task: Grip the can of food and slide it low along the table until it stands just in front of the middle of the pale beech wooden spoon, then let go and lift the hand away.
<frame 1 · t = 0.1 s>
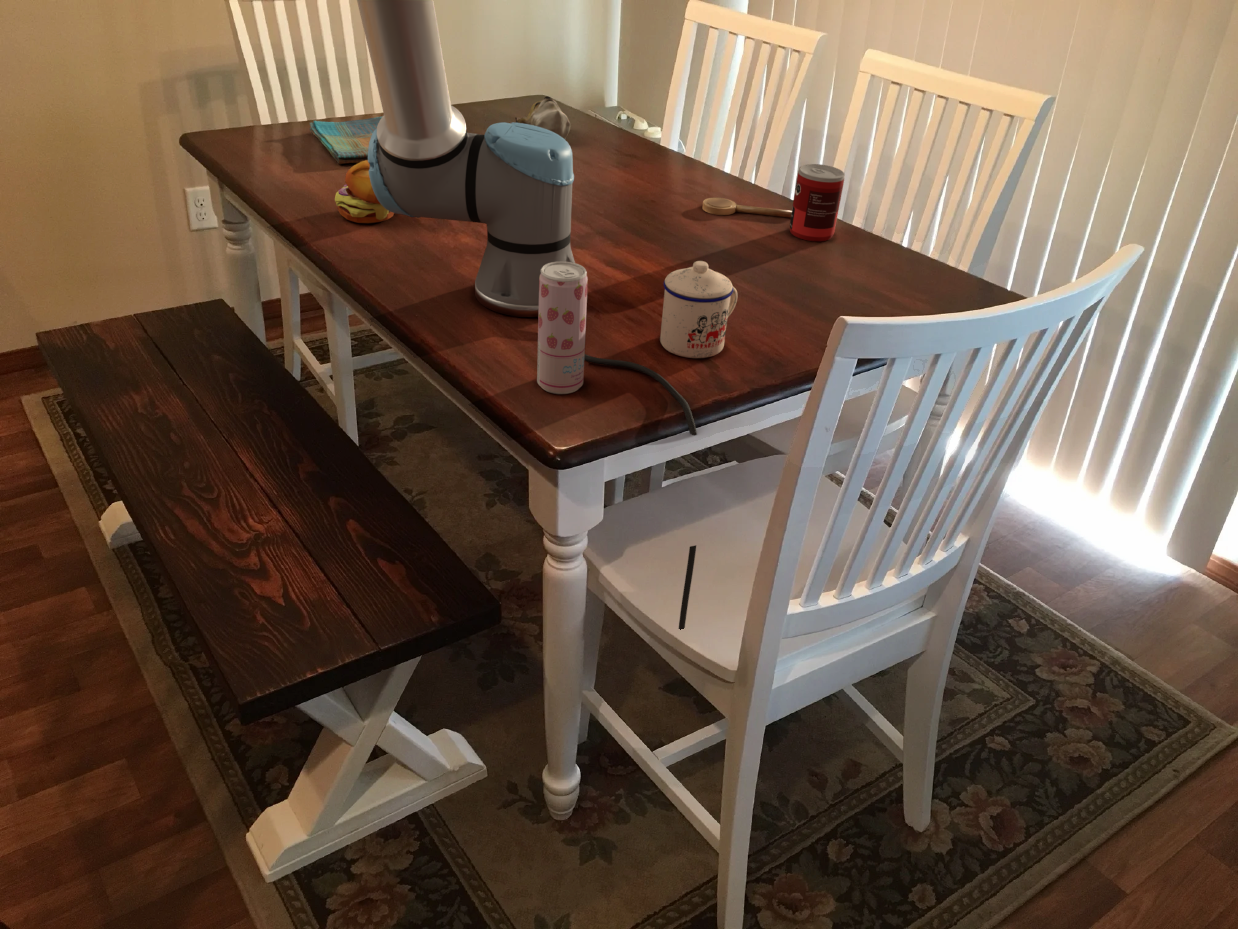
teacup with lid: (699, 343, 135), on the table
canned food: (810, 234, 172), on the table
cheeseburger: (371, 217, 167), on the table
dish towel: (365, 146, 199), on the table
spoon: (749, 212, 180), on the table
beverage can: (560, 385, 123), on the table
ceramic sculpture: (546, 137, 212), on the table
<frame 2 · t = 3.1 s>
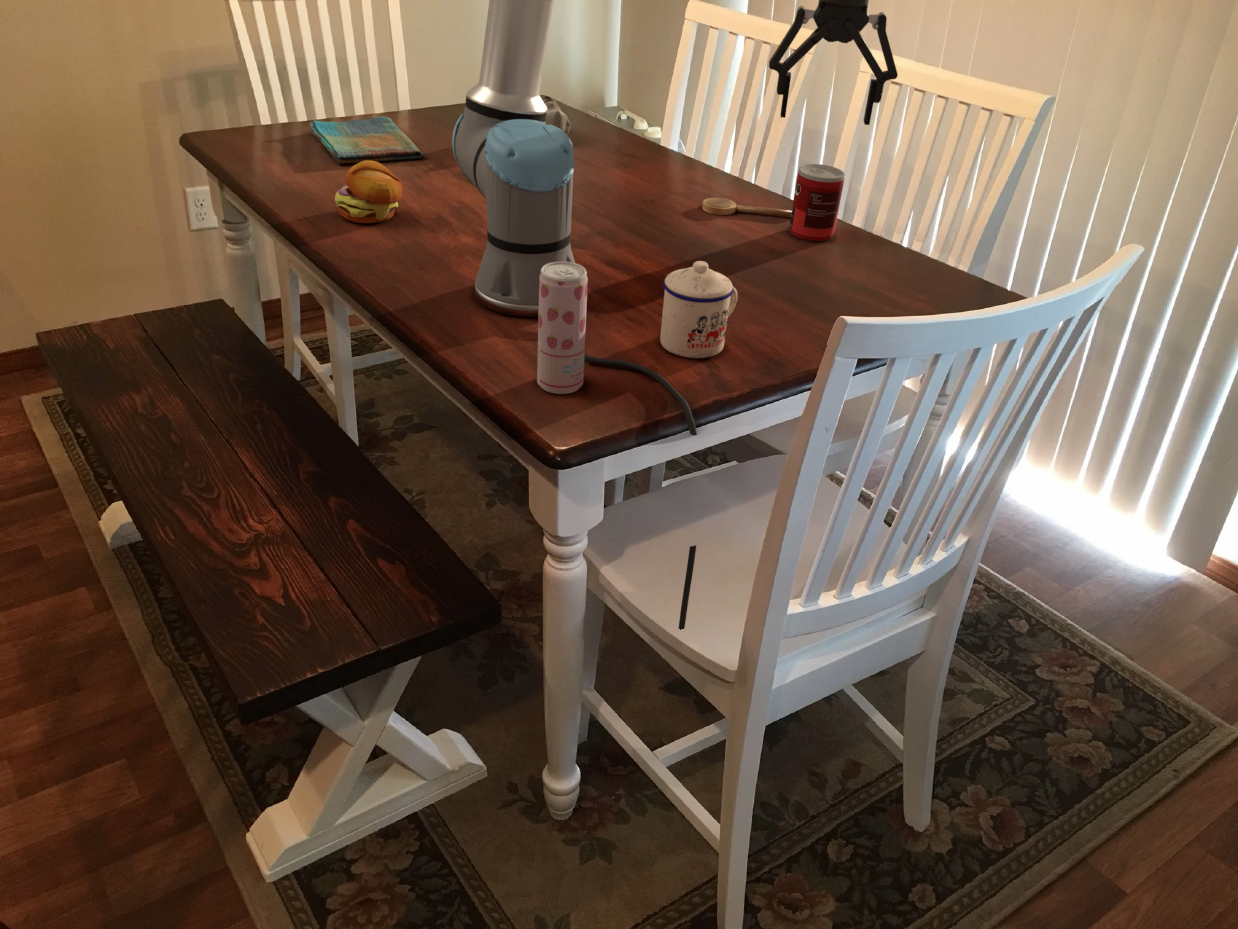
hand: (824, 119, 163), 19 cm above the table, tool pointing down, fingers open, 13 cm apart
nothing on the table moved.
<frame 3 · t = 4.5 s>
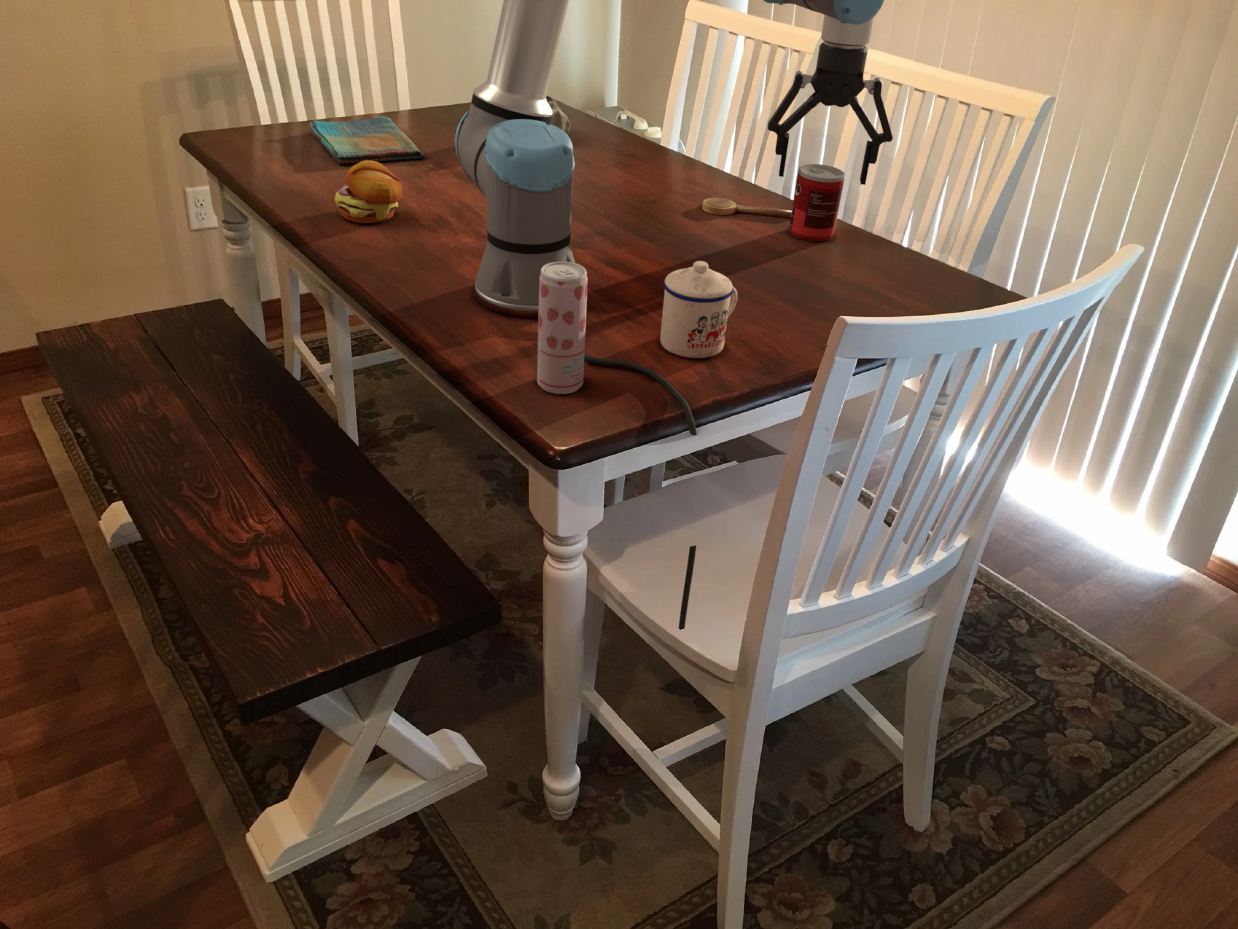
hand: (821, 178, 167), 10 cm above the table, tool pointing down, fingers open, 13 cm apart
nothing on the table moved.
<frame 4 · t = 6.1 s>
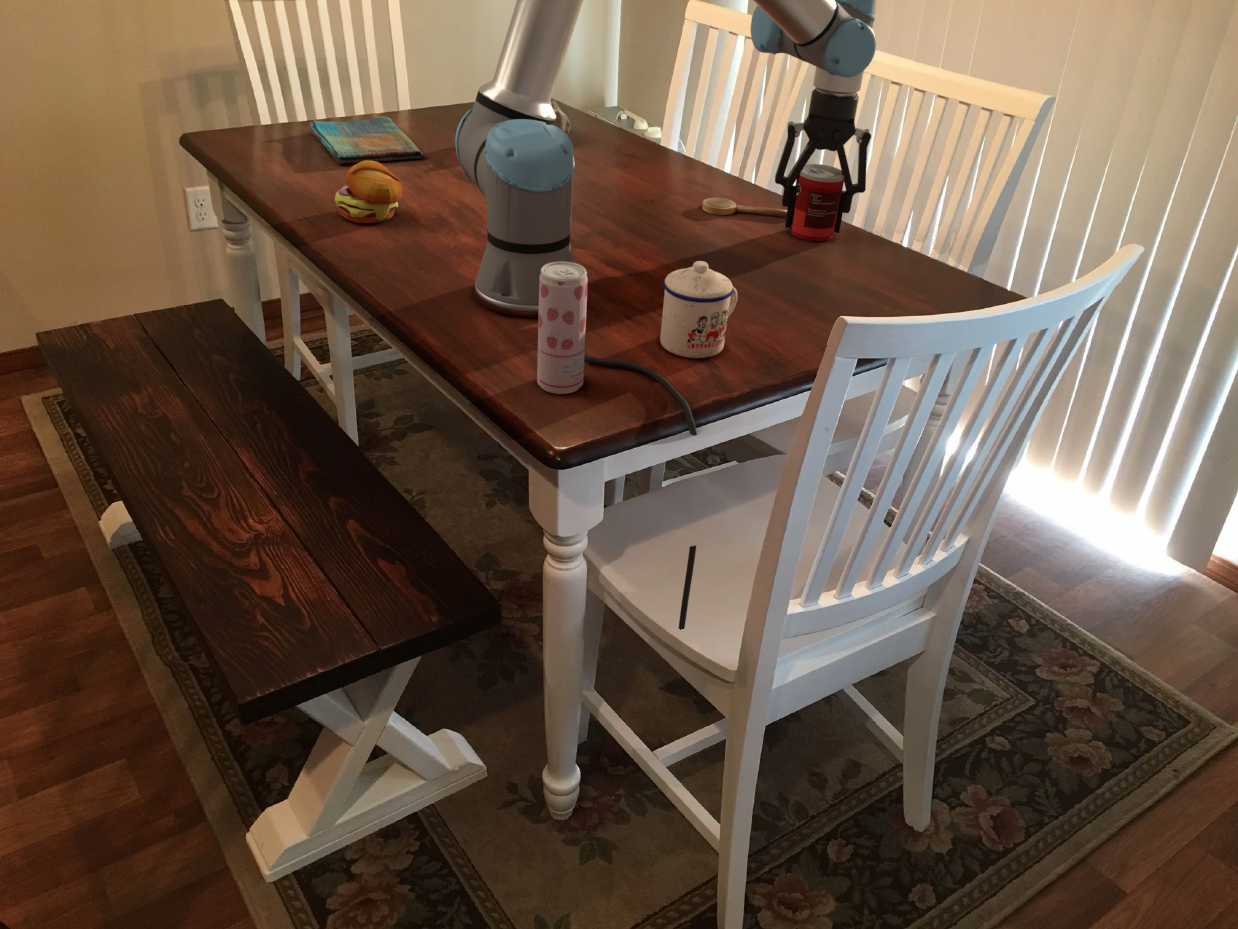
hand: (812, 227, 172), 1 cm above the table, tool pointing down, fingers closed on canned food, 8 cm apart
canned food: (810, 234, 172), on the table, touching gripper
everything else where it was.
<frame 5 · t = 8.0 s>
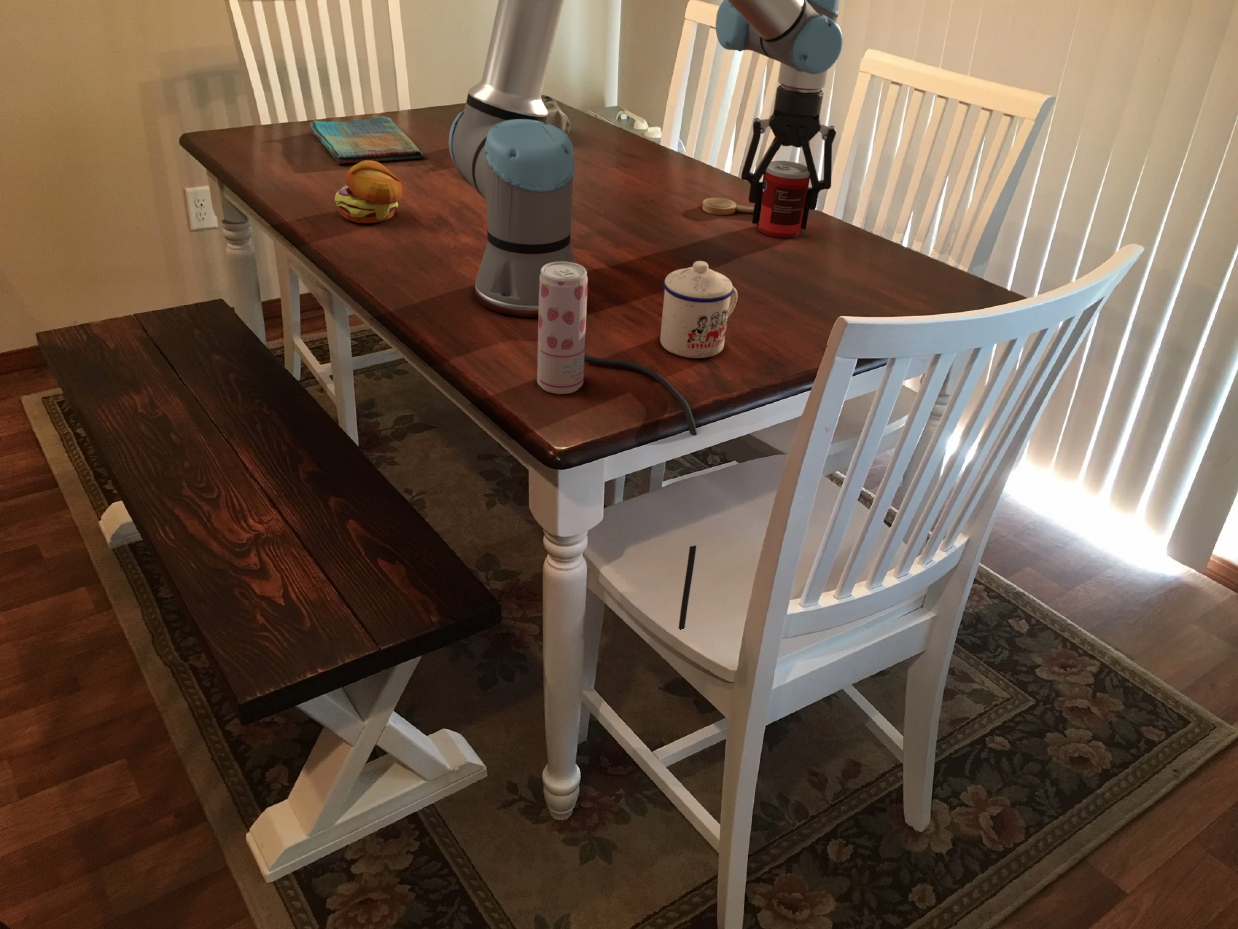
hand: (778, 223, 172), 1 cm above the table, tool pointing down, fingers closed on canned food, 8 cm apart
canned food: (777, 231, 173), on the table, touching gripper
everything else where it was.
when the fingers open (1 cm above the table, at t = 10.0 s): canned food stays where it is, on the table.
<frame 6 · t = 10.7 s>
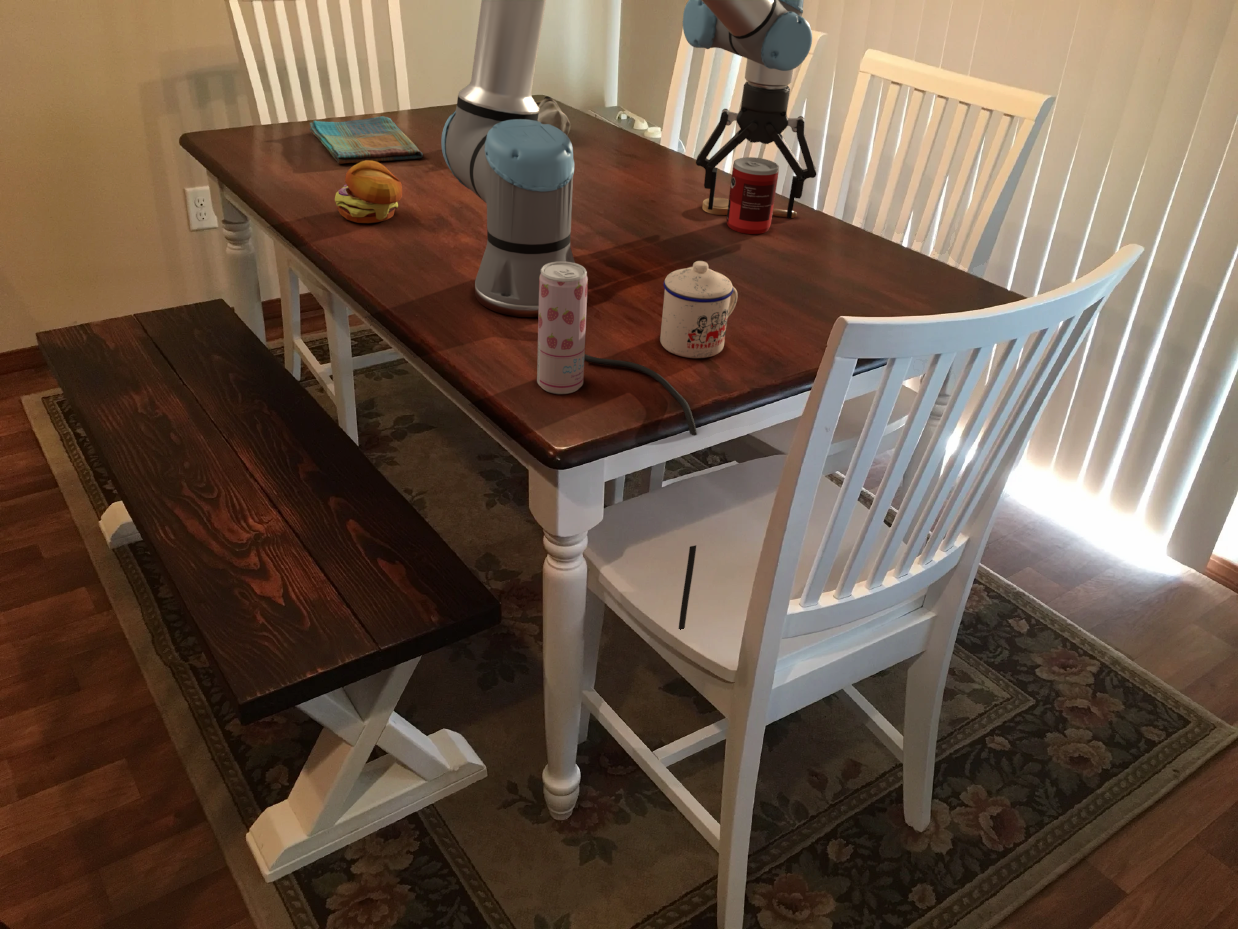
hand: (749, 211, 172), 3 cm above the table, tool pointing down, fingers open, 13 cm apart
canned food: (747, 227, 173), on the table
everything else where it was.
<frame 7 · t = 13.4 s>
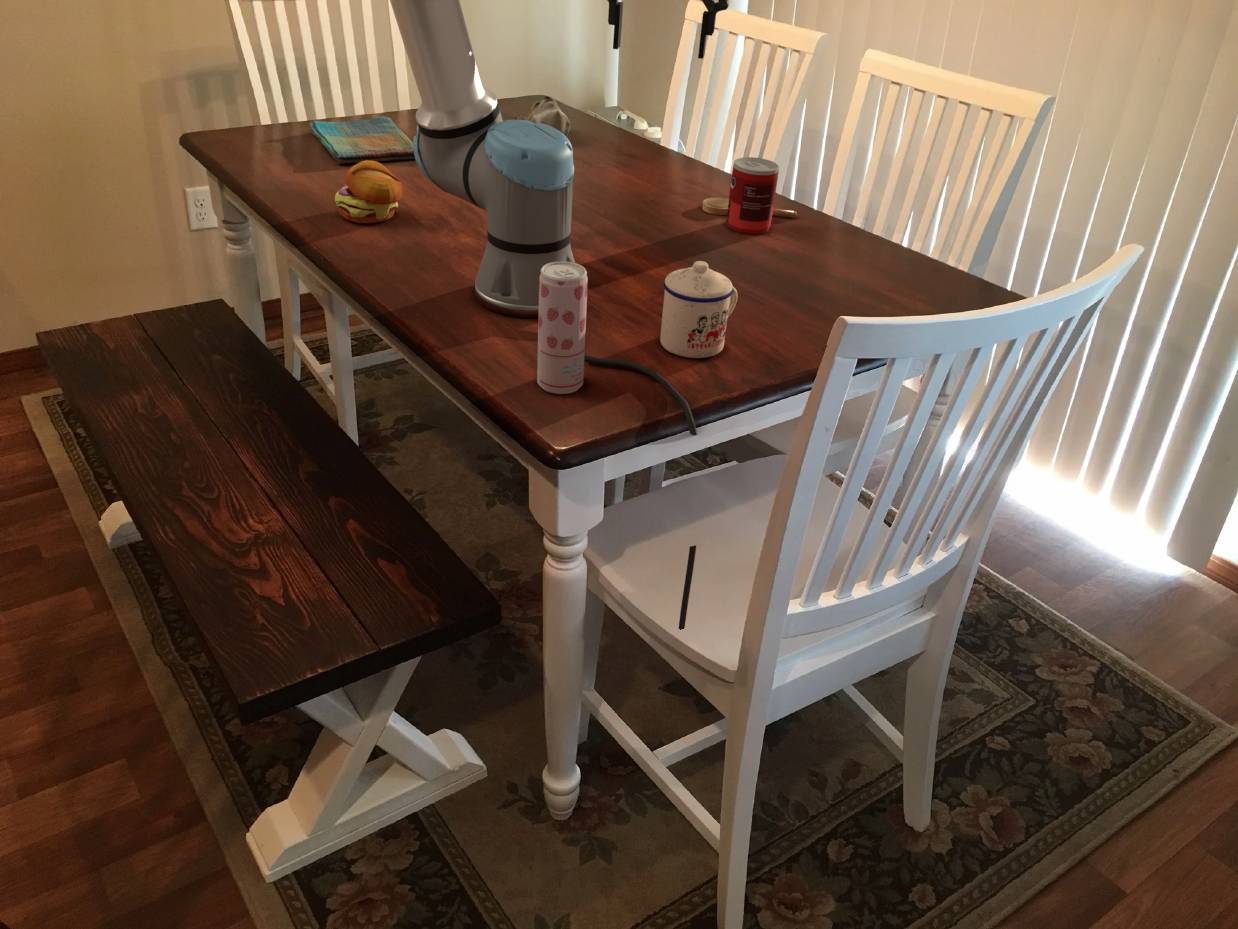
hand: (658, 52, 157), 28 cm above the table, tool pointing down, fingers open, 13 cm apart
nothing on the table moved.
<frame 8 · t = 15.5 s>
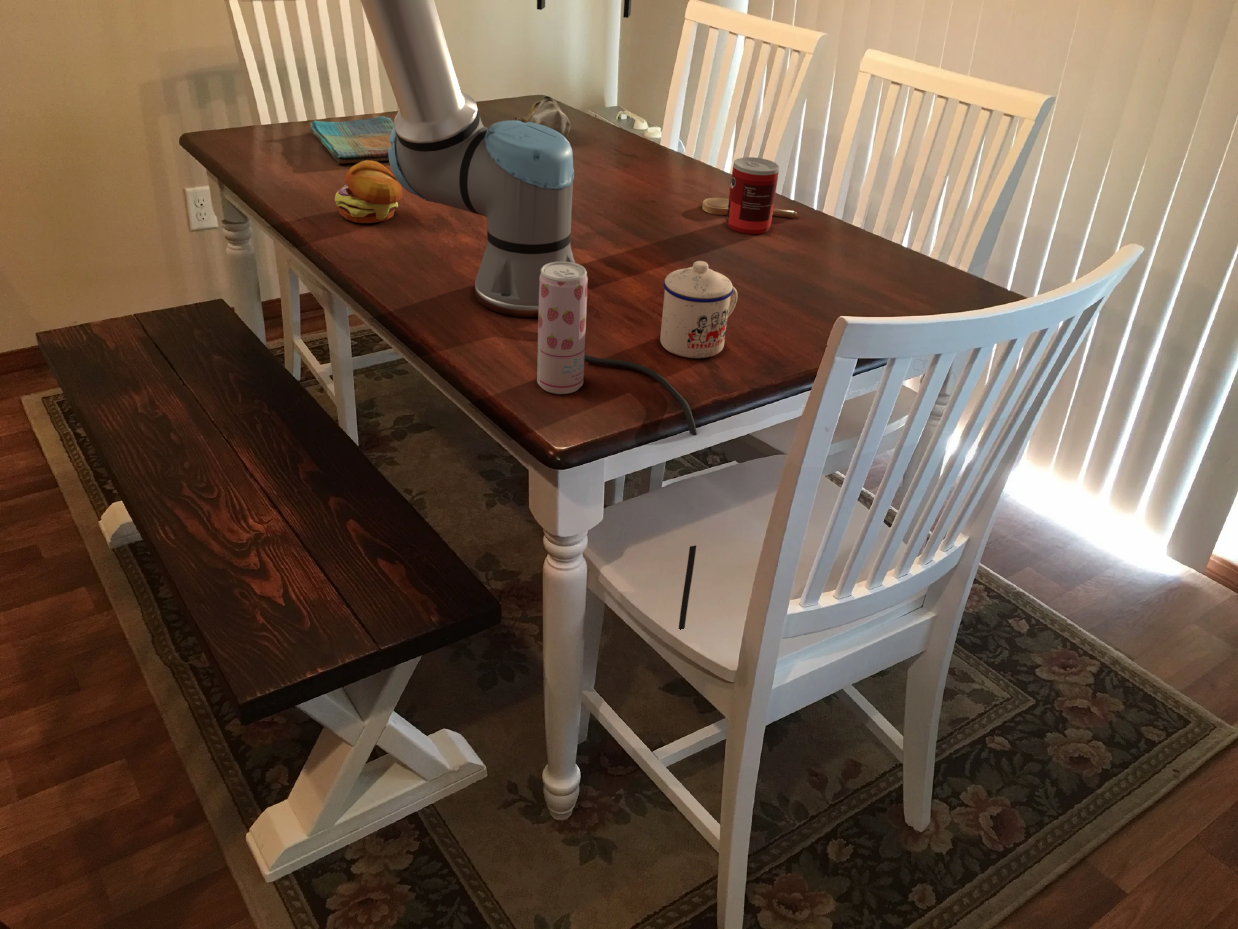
hand: (583, 12, 155), 33 cm above the table, tool pointing down, fingers open, 13 cm apart
nothing on the table moved.
at the end: canned food 0.0 cm from the target spot on the table beside the spoon, on the table; canned food tilted 0° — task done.
